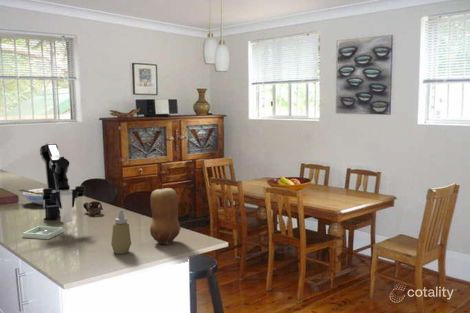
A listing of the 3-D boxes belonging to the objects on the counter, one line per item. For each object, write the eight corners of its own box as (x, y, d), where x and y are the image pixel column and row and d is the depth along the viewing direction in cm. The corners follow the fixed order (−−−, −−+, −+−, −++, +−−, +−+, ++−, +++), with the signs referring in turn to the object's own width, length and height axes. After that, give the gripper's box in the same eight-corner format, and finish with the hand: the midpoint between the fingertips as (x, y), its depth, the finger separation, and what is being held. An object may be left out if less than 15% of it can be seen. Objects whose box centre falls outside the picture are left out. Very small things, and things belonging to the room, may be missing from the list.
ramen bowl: (72, 203, 276) (72, 190, 275) (39, 209, 257) (39, 195, 256) (47, 198, 289) (47, 185, 288) (14, 204, 270) (13, 190, 269)
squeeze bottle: (113, 249, 191) (112, 207, 189) (132, 249, 191) (132, 207, 189) (109, 255, 183) (109, 212, 181) (129, 255, 183) (129, 212, 181)
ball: (40, 237, 202) (40, 230, 202) (45, 235, 205) (44, 228, 205) (47, 238, 201) (47, 231, 201) (51, 236, 205) (51, 229, 204)
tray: (22, 238, 202) (22, 232, 202) (39, 231, 214) (38, 225, 214) (48, 240, 200) (48, 234, 200) (63, 232, 213) (63, 227, 212)
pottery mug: (106, 212, 256) (106, 202, 251) (97, 223, 248) (97, 212, 244) (87, 206, 258) (86, 195, 253) (78, 216, 250) (77, 205, 245)
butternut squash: (153, 238, 208) (153, 185, 205) (182, 239, 207) (182, 186, 204) (146, 247, 194) (147, 190, 191) (177, 248, 193) (178, 191, 191)
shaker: (58, 221, 206) (57, 191, 205) (64, 218, 212) (64, 189, 210) (68, 222, 205) (68, 192, 204) (74, 219, 211) (74, 190, 209)
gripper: (78, 188, 225) (84, 214, 217) (38, 191, 215) (43, 219, 207) (82, 175, 218) (88, 202, 210) (41, 177, 207) (46, 206, 199)
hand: (67, 207), depth 207 cm, fingers closed on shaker, 5 cm apart
